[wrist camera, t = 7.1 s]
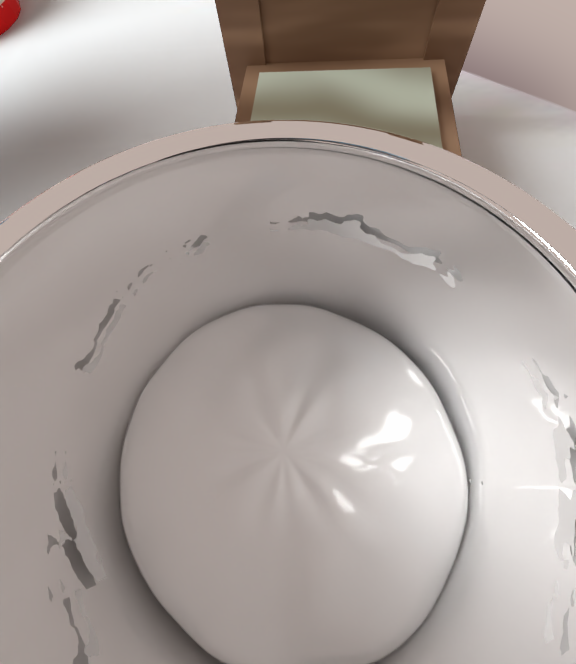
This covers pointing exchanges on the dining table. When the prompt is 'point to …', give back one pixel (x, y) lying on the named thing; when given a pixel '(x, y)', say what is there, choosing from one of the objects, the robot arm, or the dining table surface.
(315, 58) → the wooden l-shaped piece
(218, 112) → the dining table surface
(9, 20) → the kitchen timer
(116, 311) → the white tumbler cup
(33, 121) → the dining table surface
